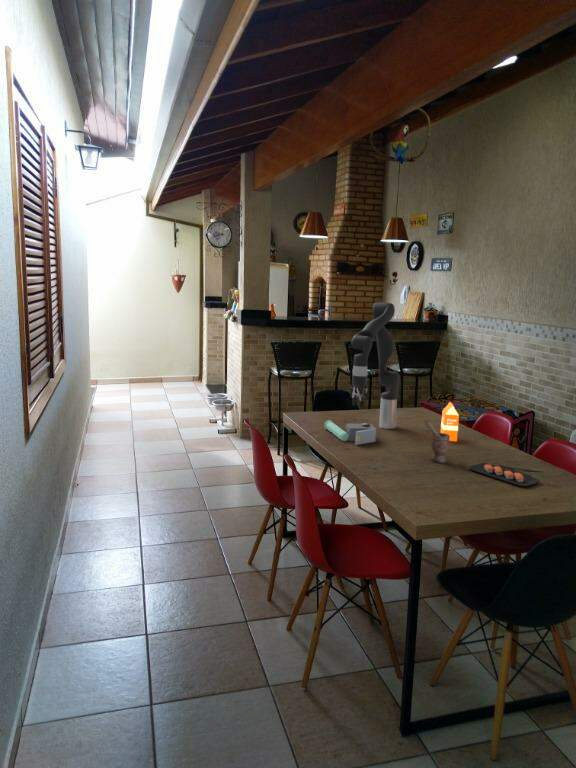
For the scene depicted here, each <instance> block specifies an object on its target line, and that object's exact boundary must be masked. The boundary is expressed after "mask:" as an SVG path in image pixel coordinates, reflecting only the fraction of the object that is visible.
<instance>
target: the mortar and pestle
mask: <svg viewBox="0 0 576 768" xmlns="http://www.w3.org/2000/svg"><path fill="white" fill-rule="evenodd" d="M424 423H425V425H426V427H427V428H428V429H429V430H430V432H431V434H430V448H431V451H433V452H434V453H433V455H431V457H430V461H431V462H433V463H438V464H439V463H440V464H443V463H447V462H448V461H447V458H446V456H445V453H446V452H447V451H448V448H449V446H450V441H449V438H450V435H448V434H446V433H440V432H437V430H436V428H435V426H434V424H433V422H432V421H431V419H429V418H428V419H426V420H425V421H424Z"/></svg>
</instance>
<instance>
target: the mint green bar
mask: <svg viewBox="0 0 576 768" xmlns="http://www.w3.org/2000/svg"><path fill="white" fill-rule="evenodd" d="M323 425H324V428H325V430H327V431H329V432H330V433H331V432H332V433H331V434H333V435H334V436H335V437H336V438H338V439H339V440H340V439H341V440H340V441H342V442H346V441H349V440H348V434H347V433H346V430H344V429H342V428H340V427H339V425H336V424H335V423H334V422H333V420H326V421H325V422H324V424H323Z"/></svg>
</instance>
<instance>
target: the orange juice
mask: <svg viewBox="0 0 576 768" xmlns="http://www.w3.org/2000/svg"><path fill="white" fill-rule="evenodd" d="M441 413H442V414H441V423H440V432H439V433H446V434H448V435H450V438H449V442H458V432H459V421H460V415H459V413H458V412H457V410H456V409H455V406H454V404H453V403H452V402H451V401H449V402H448V404H447V405H446V406H445V407H444V408H443V410H442V411H441Z"/></svg>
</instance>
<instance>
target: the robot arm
mask: <svg viewBox="0 0 576 768" xmlns="http://www.w3.org/2000/svg"><path fill="white" fill-rule="evenodd" d="M395 313H396V309H395V305H394V304H393V303H391V302H380V301H378V302H374V304H373V306H372V317H373V319H372V320H371V321H369V322H367V323H366V324H365V326H364V327H363V329H362V330H360V331H358V332H357V333H355V335H354V336H353V337H352V339H351V341H350V344H351V347H352V348H353V349H356V350H362V353H356V354H354V357H353V366H352V367H353V368H352V380H351V383H352V384H350V385H349V396H350V397H351V398H352V401H351V402H352V406H357V404H358V402H357V401H358V398H359V408H360V409H363V408H364V407H365V401H367V400H368V395H369V388H366V387H365V386H366V385H367V382H368V358H369V354H370V352H371V349H372V347H373V339H374V338H375V336H376V349H377V355H378V379H379V384H380V386H382V387H385V388H386V387H388V388H390V389H389V390H388V391H384V392H382V393H381V396H380V407H379V422H378V427H379V428H381V429H388V430H389V429H390V430H391V429H397V416H398V411H397V404H398V403H397V401H398V395H399V388H400V387H399V385H400V374H399V372H398V371H391V370H388V363H389V361H390V359H391V358H392V356H393V355H394V351H395V344H394V339H393V337H392V334H391V333H390V332H389V331H388V330H387V328H386V327H385V325H386V324H387V323H389V322H390V321H391V320H392V319H393V317H394V316H395Z"/></svg>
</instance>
